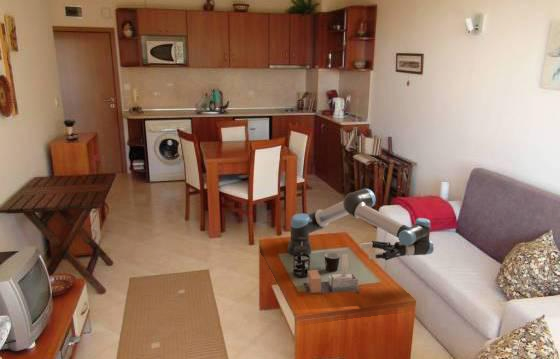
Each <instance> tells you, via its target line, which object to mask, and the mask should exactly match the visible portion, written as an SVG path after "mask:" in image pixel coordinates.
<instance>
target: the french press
mask: <svg viewBox="0 0 560 359" xmlns="http://www.w3.org/2000/svg"><path fill="white" fill-rule="evenodd" d="M298 239H299V240H301V242H303V240H306V238H304V237H300V238H298ZM309 250H310V248H309V247H307V246H296V247H294V253H295V254H296V255H293V263H292V264H293V265H292V268H293V269H292V270H293V271H292V275H293V277H295V278H298V279H306V278H307V274H308V270H310V261H311V257H310V254H308V255H307V254H302V252H306V253H309ZM303 257H305V258H307V259H303ZM300 272H301V274H298V273H300Z"/></svg>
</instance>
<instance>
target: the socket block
mask: <svg viewBox="0 0 560 359" xmlns="http://www.w3.org/2000/svg"><path fill="white" fill-rule="evenodd" d="M306 274H307V277H306V278H307V280H306V281H307V282H306V283H307V284H308V287H309V289H310V291H311V293H317V292H321V282H322V276H321V275H320V273H319V271H318V269H311V270H310V269H309V270H308V273H306Z"/></svg>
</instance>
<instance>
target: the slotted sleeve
mask: <svg viewBox="0 0 560 359" xmlns="http://www.w3.org/2000/svg"><path fill="white" fill-rule="evenodd" d="M350 274H351V275H352V277H353V279H347V280H332V286H331V285H329V283H328V281H321V292H317V293H311V291H310V289H309V287H308V284H307V282H303V283H302V284H303V286H304V288H305V291H306V293H307V295H316V294H330V293H331V294H332V293H344V292H347V293H348V292H355V294H356V293H357V294H359V293H360V290H359V288H358V287H359V279H358V277H357V276H356V275H355V274H354V273H350Z"/></svg>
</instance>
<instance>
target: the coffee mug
mask: <svg viewBox="0 0 560 359" xmlns="http://www.w3.org/2000/svg"><path fill="white" fill-rule="evenodd" d="M340 258H341V255H340V254H339V253H337V252H326V253H324V263H325V264H324V266H325V271H327V272H329V273H335V272H337V271H339V270H338V268H339V263H340Z"/></svg>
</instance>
